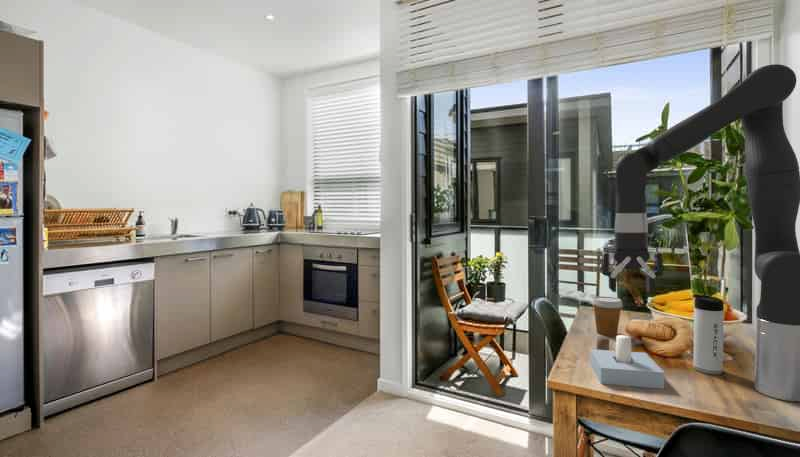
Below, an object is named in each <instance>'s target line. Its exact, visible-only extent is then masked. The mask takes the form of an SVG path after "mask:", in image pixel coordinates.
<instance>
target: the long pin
mask: <svg viewBox="0 0 800 457" xmlns="http://www.w3.org/2000/svg"><path fill="white" fill-rule="evenodd" d="M615 336H616V337H615V338H616V340H615V341H616V342H615V343H616V345H615V347H616V348H615V351H616V362H617V363H630V364H631V352H632V337H631V336H629V335H622V334H617V335H615Z"/></svg>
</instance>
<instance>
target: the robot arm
mask: <svg viewBox="0 0 800 457" xmlns="http://www.w3.org/2000/svg"><path fill="white" fill-rule="evenodd" d="M796 75H797V74H796V73H795V71H794V70H793V69H792V68H790V67H789V66H787V65H783V64H779V63H776V64H768V65H764V66H761V67H758V68H757V69H755V70H753V71H752V72H751V73H748V74H747V76H746V77H745V78H744V79H743V80H742V81H740V83H739V84H738V85H736V86H735V87H734V88H732V89H731V90H730V91H729V92H727V93H726V94H723V96H721V97H720V98H719V99H717V100H716V101H714V102H712V103H711V104H710V105H708V106H706V107H704V108H702V109H701V110H699V111H697V112H696V113H694V114H692V115H691V116H688V117H687V118H685V119H683V120H681V121H680V122H678V123H676V124H674V125H672V126H671V127H669V128H668V129H666V130H664V131H663V132H661V133H660V134H659V133H658V135H656V136H655V137H653V138H652V139H651V140H649V141H648V142H647V143H646V144H645V145H642V146H641V147H640V148H637V149H635V150H634V151H633V152H628V153H625V154H623V155H622V156H621V157H619V158H618V160H617V161H616V164H615V180H616V181H615V182H616V196H615V218H614V219H615V220H614V252H613V253H610V252H605V251H604V252H602V253H601V264H600V265H601V267H600V273H601V274H602V275H603V276H604V277H605V276H606V277H608V288H609V290H610V291H611V292H613V293H617V278H616V276H618V274H619V273H620V272H622V270H623V269H624V270H640V269H641V270H642V271H643V273H645V275H646V276H647V277H646V278H645V279H646V284H645V285H646V288H645V289H646V292H647V293H653V291H654V290H655V288H656V284H655V283H656V282H655V281H656V278H658V277H662V276H663V275H664V265H663V264H664V263H663V262H664V261H663V254H662V253H660V252H658V251H655V252H649V245H648V244H649V238H648V237H649V232H648V230H649V227H648V224H649V223H648V214H647V193H646V189H647V178H648V174H649V173H651V172H652V171H654V170H655V169H657V168H658V167H660V166H662V165H663V164H665V163H668V162H670V161H672V160H674V159H675V158H678V157H680V155H682V154H685V153H686V152H688V151H690V150H692V149H693V148H695V147H696V146H698V145H699V144H701V143H702V142H704V141H705V140H707V139H709V138H710V137H712V136H713V135H715V134H716V133H718V132H719V131H721V130H722V129H724V128H725V127H728V126H729V125H731V124H733V123H734V122H736V121H738V120H740V121H741V125H742V130H743V135H744V161H745V177H746V187H747V194H748V201H749V207H750V211H751V216H752V217H751V218H752V221H753V226H754V236H755V238H754V241H755V242H754V263H753V264H754V266H753V268H754V273H755V275H756V277H757V278H758V279H759V281H760V296H759V297H760V299H759V302H758V304H757V306H756V309H755V310H756V311H755V312H756V314H755V317H756V320H755V354H754V355H755V361H754V389H755V390H756V391H757V392H759V393H760V394H762V395H765V396H768V397H771V398H773V399H778V400H781V401H788V402H795V401H797V402H799V403H800V249H799V245H798V238H797V232H796V224H797V223H796V222H797V217H798V213H799V209H800V166H799V161H798V158H797V156H796V153H795V151H794V148H793V146H792V144H791V143H790V140H789V138H788V136H787V134H786V131H785V127H784V114H783V113H784V110H783V109H784V108H783V107H784V106H783V105H784V101H785V100H786V99H788V98H789V97H790V96H791V95H792V93H793V92H794V90H795V88H796V84H797V76H796ZM613 258H614V260H615V261H616V263H615V264H614V265H613V266H612V268H611V269H610V271H609V266H610V265H609V264H610V262H611V261H612V259H613ZM649 259H651V261H653V266H654V267H653V268H654V271H653V270H652V269H651V268H650V266H649V265H648V264H647V261H649Z"/></svg>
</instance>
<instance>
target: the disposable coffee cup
mask: <svg viewBox="0 0 800 457" xmlns="http://www.w3.org/2000/svg"><path fill="white" fill-rule="evenodd" d="M591 302H592V305H593V312H594V313H593V314H594V318H595V319H594V320H595V326H596V327H595V328H596V333H597V334H599V335H602V336H605V337H606V336H608V337H610V336H611V337H612V336H618V330H619V323H620V317H621V311H622V307H623V302H622V299H620V298H617V297H613V296H595V297H593V300H592V301H591Z"/></svg>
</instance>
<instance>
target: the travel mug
mask: <svg viewBox="0 0 800 457" xmlns="http://www.w3.org/2000/svg"><path fill="white" fill-rule="evenodd" d="M692 298H694V311H693V313H694V314H693V364H692V365H693V370H695V371H697V372H699V373H702V374H706V375H712V376H713V375H714V376H718V375H722V373H723V371H724V370H723V367H724V365H723V364H724V361H723V360H724V328H725V327H724V323H725V322H724V321H725V318H724V317H725V314H724V312H725V309H724V308H725V307H724V304H725V303H724V300H723V299H722V298H718V297H714V296H710V295H703V294H699V293H695V294H693V295H692Z"/></svg>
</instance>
